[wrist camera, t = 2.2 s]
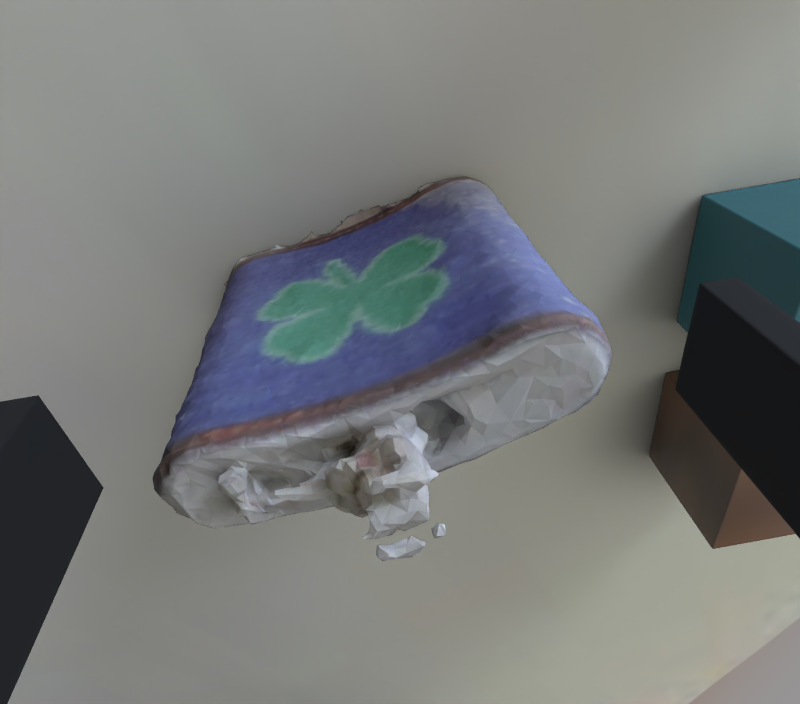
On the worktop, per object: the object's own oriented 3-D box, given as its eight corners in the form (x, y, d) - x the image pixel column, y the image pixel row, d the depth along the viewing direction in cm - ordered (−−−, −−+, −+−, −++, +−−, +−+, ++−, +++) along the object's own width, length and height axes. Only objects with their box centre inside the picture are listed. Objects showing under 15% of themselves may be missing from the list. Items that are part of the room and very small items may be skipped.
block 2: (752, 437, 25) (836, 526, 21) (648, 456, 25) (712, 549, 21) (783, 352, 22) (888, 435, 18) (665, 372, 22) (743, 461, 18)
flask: (483, 158, 16) (671, 370, 7) (504, 243, 18) (677, 498, 9) (208, 265, 17) (82, 566, 8) (253, 335, 19) (187, 648, 10)
